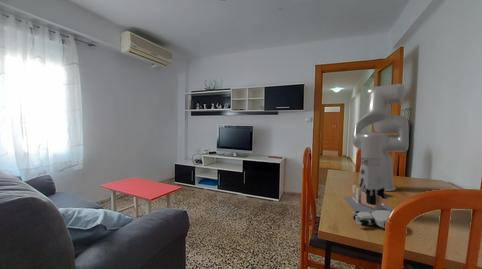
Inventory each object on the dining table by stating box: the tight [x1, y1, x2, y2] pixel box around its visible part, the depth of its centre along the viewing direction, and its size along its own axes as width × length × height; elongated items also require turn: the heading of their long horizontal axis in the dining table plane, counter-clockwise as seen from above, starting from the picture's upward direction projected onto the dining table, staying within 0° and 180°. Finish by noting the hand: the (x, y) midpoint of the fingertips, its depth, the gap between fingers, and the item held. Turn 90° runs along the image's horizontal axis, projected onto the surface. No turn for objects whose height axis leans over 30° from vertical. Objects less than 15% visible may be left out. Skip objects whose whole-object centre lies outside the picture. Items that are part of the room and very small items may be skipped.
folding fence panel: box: [361, 191, 383, 210], centre depth 93 cm, size 9×1×6 cm, turn 20°
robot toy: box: [350, 210, 391, 229], centre depth 78 cm, size 12×4×15 cm
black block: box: [377, 187, 389, 200], centre depth 110 cm, size 12×7×5 cm, turn 142°
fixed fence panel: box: [352, 184, 361, 204], centre depth 102 cm, size 9×2×7 cm, turn 169°
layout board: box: [343, 196, 393, 214], centre depth 97 cm, size 19×16×1 cm
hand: (371, 203), depth 90 cm, fingers closed
